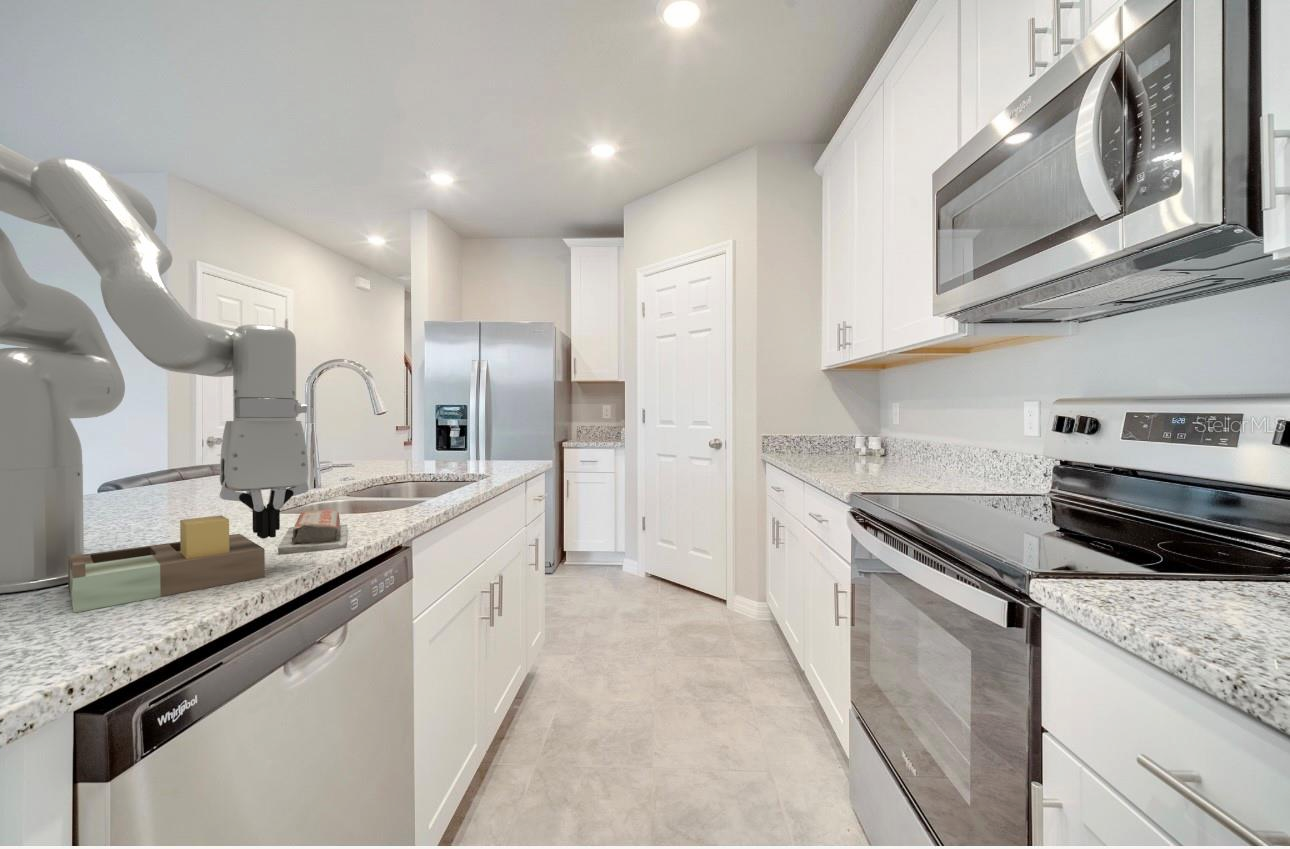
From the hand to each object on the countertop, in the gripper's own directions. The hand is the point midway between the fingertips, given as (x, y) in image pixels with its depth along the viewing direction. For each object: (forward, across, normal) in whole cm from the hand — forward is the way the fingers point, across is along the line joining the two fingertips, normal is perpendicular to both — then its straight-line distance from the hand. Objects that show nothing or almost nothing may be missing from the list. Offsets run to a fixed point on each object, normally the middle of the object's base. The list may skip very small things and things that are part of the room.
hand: (266, 536), depth 79 cm
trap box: (+5, +10, -4) cm, 12 cm away
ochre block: (+1, +7, 0) cm, 7 cm away
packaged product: (+6, -12, -16) cm, 20 cm away
